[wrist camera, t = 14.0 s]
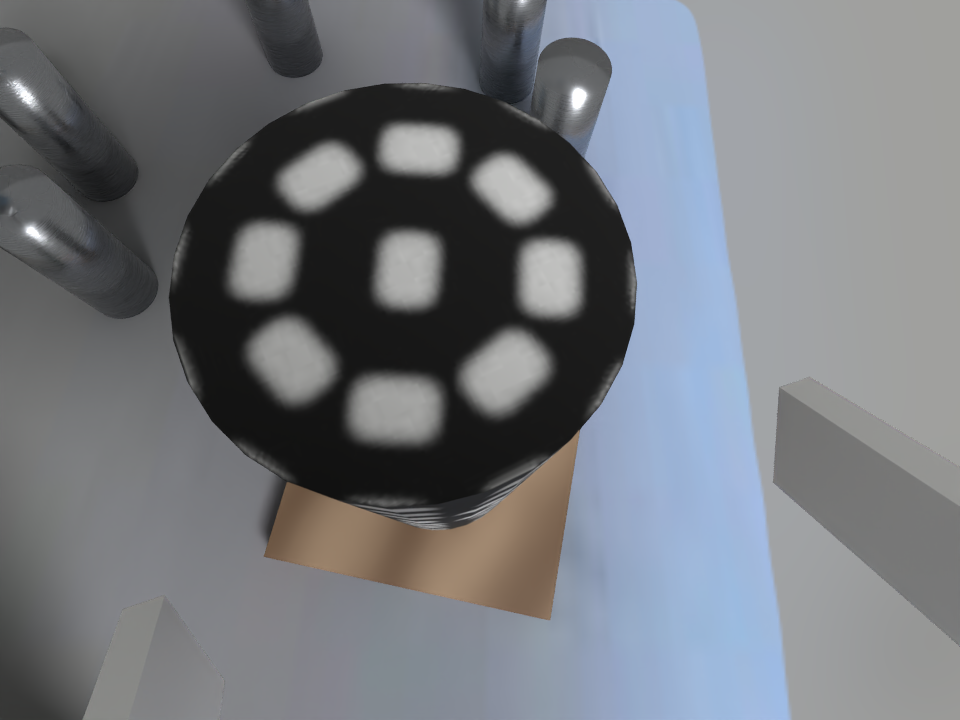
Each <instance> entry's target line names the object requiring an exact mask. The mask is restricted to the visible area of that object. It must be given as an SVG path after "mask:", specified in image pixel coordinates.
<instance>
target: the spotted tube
mask: <svg viewBox="0 0 960 720" xmlns="http://www.w3.org/2000/svg"><path fill="white" fill-rule="evenodd" d="M636 289H637V280H636V273H635V266H634V259H633V253H632V246H631V241H630V239H629V236H628V233H627V230H626V228H625V225H624V222H623V220H622V217H621V214H620V212H619V209H618V206H617V204H616V203H615V201H614V199H613V198H612V196H611V195H610V193H609V191H608V190H607V188H606V186H605V185H604V183H603V182H602V180H601V178H600V177H599V175H598V173H597V172H596V171H595V170H594V169H593V168H592V166H591V165H590V164H589V163H588V162H587V161H586V160H585V159H584V158H583V157H582V156H581V154H580V153H579V152H578V151H577V150H576V149H575V148H574V147H573V146H572V145H571V144H570V143H569V142H568V141H567V140H565V139H564V138H563V137H561V136H560V135H559V134H557V133H556V132H555V131H553V130H552V129H551V128H549V127H548V126H547V125H545V124H544V123H543V122H541V121H540V120H539V119H537V118H535V117H533V116H531V115H529V114H527V113H525V112H523V111H521V110H519V109H517V108H515V107H513V106H512V105H510V104H508V103H506V102H504V101H501V100H498V99H495V98H491V97H488V96H485V95H482V94H479V93H476V92H473V91H469V90H466V89H461V88H454V87H447V86H441V85H434V84H427V83H402V84H380V85H374V86H368V87H362V88H357V89H351V90H345V91H342V92H339V93H336V94H333V95H330V96H327V97H324V98H321V99H318V100H315V101H312V102H310V103H307V104H304V105H302V106H301V107H299V108H297V109H295V110H293V111H291V112H289V113H288V114H286V115H284V116H282V117H280V118H278V119H276V120H275V121H273V122H271V123H269V124H268V125H266V126H265V127H264V128H263V129H261V130H260V131H259V132H258V133H256V134H255V135H254V136H252V137H251V138H250V139H249V140H247V141H246V142H245V143H243V144H242V145H241V146H240V147H238V148H237V149H236V150H235V151H234V152H233V154H232V155H231V156H230V157H229V158H228V159H227V160H226V161H225V163H224V164H223V165H222V166H221V167H220V168H219V169H218V170H217V172H216V173H215V174H214V175H213V176H212V177H211V178H210V179H209V181H208V183H207V184H206V186H205V188H204V189H203V191H202V193H201V194H200V196H199V198H198V199H197V201H196V203H195V204H194V206H193V208H192V209H191V211H190V213H189V215H188V217H187V220H186V222H185V225H184V228H183V231H182V234H181V237H180V240H179V243H178V245H177V248H176V251H175V254H174V260H173V269H172V277H171V285H170V293H169V302H170V312H171V321H172V331H173V341H174V343H175V346H176V349H177V352H178V355H179V358H180V361H181V364H182V367H183V370H184V373H185V376H186V379H187V382H188V383H189V385H190V387H191V388H192V390H193V392H194V393H195V395H196V396H197V398H198V400H199V401H200V403H201V404H202V406H203V408H204V409H205V411H206V412H207V414H208V416H209V417H210V419H211V420H212V422H213V423H214V424H215V425H216V426H217V427H218V428H219V429H220V430H221V431H222V432H223V433H224V434H225V435H226V436H227V437H228V438H229V439H230V440H231V441H232V442H233V443H234V444H235V445H236V446H237V447H238V448H239V449H240V450H241V451H242V452H243V453H244V454H245V455H246V456H248V457H249V458H251V459H253V460H254V461H256V462H257V463H259V464H260V465H262V466H263V467H265V468H267V469H268V470H270V471H271V472H273V473H274V474H276V475H278V476H279V477H281V478H282V479H284V480H285V481H287V482H289V483H292V484H295V485H297V486H300V487H303V488H306V489H308V490H311V491H314V492H316V493H319V494H322V495H324V496H327V497H330V498H332V499H335V500H338V501H341V502H344V503H347V504H350V505H352V506H355V507H358V508H361V509H364V510H367V511H370V512H373V513H376V514H379V515H382V516H385V517H387V518H390V519H393V520H396V521H399V522H402V523H405V524H408V525H411V526H414V527H417V528H422V529H429V530H447V529H453V528H457V527H461V526H465V525H468V524H470V523H472V522H474V521H476V520H478V519H480V518H482V517H483V516H484V515H485V514H487V513H488V512H489V511H491V510H492V509H493V508H494V507H496V506H497V505H498V504H499V503H500V502H501V501H502V500H504V499H505V498H506V497H507V496H508V495H509V494H510V493H511V492H513V491H514V490H515V489H516V488H517V487H518V486H519V485H520V484H522V483H523V482H524V481H525V480H526V479H527V478H528V477H530V476H531V475H532V474H533V473H534V472H535V471H536V470H537V469H539V468H540V467H541V466H542V465H543V464H544V463H545V462H546V461H548V460H549V459H550V458H551V457H552V456H553V455H554V454H555V453H557V452H558V451H559V450H560V449H561V448H562V447H563V446H565V445H566V444H567V443H568V442H569V441H570V440H571V439H572V438H573V437H574V436H575V434H576V433H577V432H578V431H579V430H580V429H581V427H582V426H583V425H584V424H585V423H586V422H587V420H588V419H589V418H590V417H591V416H592V415H593V413H594V412H595V411H596V410H597V409H598V408H599V406H600V405H601V404H602V402H603V400H604V398H605V396H606V394H607V393H608V391H609V389H610V387H611V385H612V383H613V381H614V380H615V378H616V376H617V374H618V372H619V370H620V369H621V367H622V364H623V361H624V358H625V354H626V351H627V347H628V344H629V340H630V337H631V333H632V330H633V326H634V319H635V304H636Z"/></svg>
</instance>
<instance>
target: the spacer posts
mask: <svg viewBox="0 0 960 720" xmlns="http://www.w3.org/2000/svg"><path fill="white" fill-rule="evenodd" d="M546 2H547V0H484V2H483V23H482V43H481V64H480V86H481V89H482V91H483V92H484V93H485V95H486V96H488V97H491V98H495V99H498V100H501V101H504V102H506V103H508V104H509V103H516V102H519V101H521V100H523V99H524V98H526V97H527V96H528V95H529V93H530V92H531V90H532V87H533V81H534V75H535V69H536V63H537V57H538V51H539V45H540V39H541V33H542V27H543V20H544V14H545V8H546ZM245 3H246V5H247V8H248V10H249V13H250V15H251V18H252V20H253V23H254V25H255V28H256V31H257V33H258V36H259V38H260V41H261V43H262V46H263V48H264V51H265V54H266V56H267V59H268V61H269V64H270V66H271V67H272V69H273V70H274V71H275V72H277V73H278V74H280V75H283V76H286V77H302V76H305V75H308V74H310V73H312V72H313V71H314V70H316V69H317V67H318V66H319V65H320V63H321V61H322V49H321V46H320V42H319V38H318V35H317V31H316V27H315V24H314V20H313V17H312V13H311V9H310V6H309V2H308V0H245ZM611 74H612V66H611V62H610V59H609V57H608V56H607V54H606V53H605V52H604V51H603V50H602V49H601V48H600V47H599V46H597V45H596V44H594V43H592V42H590V41H588V40H585V39H580V38H563V39H559V40H556V41H554V42H552V43H550V44H549V45H548V46H546V48H545V49H544V50H543V51H542V52H541V54H540V57H539V60H538V66H537V72H536V78H535V84H534V90H533V96H532V102H531V108H530V114H529V115H531V116H533V117H535V118H537V119H539V120H540V121H541V122H543V123H544V124H545V125H547V126H548V127H549V128H551V129H552V130H553V131H555V132H556V133H557V134H559V135H560V136H561V137H563V138H564V139H565V140H567V141H568V142H569V143H570V144H571V145H572V146H573V147H574V148H575V149H576V150H577V151H578V152H579V153H580V154H581V156H582V157H583V158H584V157H585V154H586V151H587V148H588V145H589V141H590V138H591V135H592V132H593V129H594V126H595V123H596V120H597V117H598V114H599V111H600V108H601V105H602V102H603V99H604V96H605V93H606V90H607V87H608V84H609V81H610V78H611ZM0 117H1V118H2V119H3V120H4V121H5V122H6V123H7V124H8V125H9V126H10V127H11V128H12V129H13V130H14V131H16V132H17V133H18V134H19V135H20V136H21V137H22V138H23V139H24V140H25V141H26V142H27V143H28V144H30V145H31V146H32V147H33V148H34V149H35V150H36V151H37V152H38V153H39V154H40V155H41V156H42V157H43V158H45V159H46V160H47V161H48V162H49V163H50V164H51V165H52V166H53V167H54V168H55V169H56V170H57V171H59V172H60V173H61V174H62V175H63V176H64V177H65V178H66V179H67V180H68V181H69V182H70V183H71V184H72V185H74V186H75V187H76V188H77V189H78V190H79V191H80V192H81V193H82V194H83V195H84V196H86V197H87V198H89V199H92V200H95V201H110V200H114V199H117V198H119V197H121V196H123V195H124V194H126V193H127V192H128V191H129V190H130V189H131V188H132V187H133V186H134V184H135V182H136V180H137V176H138V168H137V165H136V163H135V161H134V160H133V159H132V158H131V156H130V155H129V154H128V153H127V152H126V150H125V149H124V148H123V147H122V146H121V145H120V143H119V142H118V141H117V140H116V139H115V137H114V136H113V135H112V134H111V133H110V132H109V130H108V129H107V128H106V127H105V126H104V124H103V123H102V122H101V121H100V120H99V119H98V117H97V116H96V115H95V114H94V113H93V111H92V110H91V109H90V108H89V107H88V106H87V104H86V103H85V102H84V101H83V100H82V98H81V97H80V96H79V95H78V94H77V93H76V91H75V90H74V89H73V88H72V87H71V85H70V84H69V83H68V82H67V81H66V80H65V78H64V77H63V76H62V75H61V74H60V72H59V71H58V70H57V69H56V68H55V67H54V65H53V64H52V63H51V62H50V61H49V59H48V58H47V57H46V56H45V55H44V54H43V52H42V51H41V50H40V49H39V48H38V46H37V45H36V44H35V43H34V42H33V41H32V39H31V38H30V37H29V36H28V35H26V34H25V33H23V32H22V31H19V30H16V29H12V28H0ZM0 247H1V248H2V249H4V250H5V251H7V252H8V253H10V254H12V255H13V256H15V257H16V258H18V259H19V260H21V261H22V262H24V263H25V264H27V265H29V266H30V267H32V268H33V269H35V270H36V271H38V272H39V273H41V274H42V275H44V276H46V277H47V278H49V279H50V280H52V281H53V282H55V283H56V284H58V285H59V286H61V287H63V288H64V289H66V290H67V291H69V292H70V293H72V294H73V295H75V296H77V297H78V298H80V299H81V300H83V301H84V302H86V303H87V304H89V305H90V306H92V307H94V308H95V309H97V310H98V311H100V312H101V313H103V314H104V315H106V316H108V317H112V318H117V319H123V318H129V317H133V316H135V315H138V314H139V313H141V312H143V311H144V310H145V309H146V308H148V307H149V306H150V304H151V303H152V302H153V300H154V298H155V296H156V294H157V290H158V281H157V277H156V275H155V273H154V272H153V271H152V269H151V268H149V267H148V266H147V265H146V264H145V263H144V262H143V261H142V260H140V259H139V258H138V257H137V256H136V255H135V254H134V253H133V252H132V251H130V250H129V249H128V248H127V247H126V246H125V245H124V244H123V243H121V242H120V241H119V240H118V239H117V238H116V237H115V236H114V235H112V234H111V233H110V232H109V231H108V230H107V229H106V228H105V227H104V226H102V225H101V224H100V223H99V222H98V221H97V220H96V219H95V218H93V217H92V216H91V215H90V214H89V213H88V212H87V211H86V210H85V209H83V208H82V207H81V206H80V205H79V204H78V203H77V202H76V201H74V200H73V199H72V198H71V197H70V196H69V195H68V194H67V193H65V192H64V191H63V190H62V189H61V188H60V187H59V186H58V185H57V184H55V183H54V182H53V181H52V180H51V179H50V178H49V177H48V176H46V175H45V174H44V173H43V172H42V171H40V170H38V169H36V168H34V167H31V166H27V165H9V166H4V167H1V168H0Z"/></svg>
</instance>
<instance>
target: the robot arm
mask: <svg viewBox="0 0 960 720" xmlns="http://www.w3.org/2000/svg"><path fill="white" fill-rule="evenodd" d="M773 483H774V484H775V485H777V486H778V487H779V488H780V489H781V490H782V491H783V492H785V493H786V494H787V495H788V496H789V497H790V498H791V499H792V500H794V501H795V502H796V503H797V504H798V505H799V506H800V507H802V508H803V509H804V510H805V511H806V512H807V513H808V514H809V515H811V516H812V517H813V518H814V519H815V520H816V521H818V522H819V523H820V524H821V525H822V526H823V527H824V528H826V529H827V530H828V531H829V532H830V533H831V534H832V535H833V536H835V537H836V538H837V539H838V540H839V541H840V542H842V543H843V544H844V545H845V546H846V547H847V548H848V549H849V550H851V551H852V552H853V553H854V554H855V555H856V556H857V557H859V558H860V559H861V560H862V561H863V562H864V563H865V564H867V565H868V566H869V567H870V568H871V569H872V570H873V571H874V572H876V573H877V574H878V575H879V576H880V577H881V578H882V579H884V580H885V581H886V582H887V583H888V584H889V585H890V586H892V587H893V588H894V589H895V590H896V591H897V592H898V593H900V594H901V595H902V596H903V597H904V598H905V599H906V600H907V601H909V602H910V603H911V604H912V605H913V606H914V607H915V608H917V609H918V610H919V611H920V612H921V613H922V614H923V615H925V616H926V617H927V618H928V619H929V620H930V621H931V622H933V623H934V624H935V625H936V626H937V627H938V628H939V629H941V630H942V631H943V632H944V633H945V634H946V635H948V636H949V637H950V638H951V639H952V640H953V641H954V642H955V643H956V644H958V645H959V646H960V467H959V466H958V465H956V464H955V463H953V462H951V461H950V460H948V459H946V458H944V457H943V456H941V455H940V454H938V453H936V452H935V451H933V450H931V449H930V448H928V447H926V446H924V445H923V444H921V443H920V442H918V441H916V440H914V439H913V438H911V437H909V436H908V435H906V434H904V433H903V432H901V431H899V430H898V429H896V428H894V427H893V426H891V425H889V424H888V423H886V422H884V421H883V420H881V419H879V418H878V417H876V416H874V415H873V414H871V413H869V412H868V411H866V410H864V409H863V408H861V407H859V406H858V405H856V404H854V403H853V402H851V401H849V400H848V399H846V398H844V397H843V396H841V395H839V394H838V393H836V392H834V391H833V390H831V389H829V388H828V387H826V386H824V385H823V384H821V383H819V382H818V381H816V380H814V379H813V378H811V377H808V378H805V379H802V380H799V381H796V382H793V383H790V384H787V385H784V386H781V387H779V398H778V413H777V429H776V445H775V461H774V476H773ZM224 685H225V681H224V679H223V678H222V676H221V675H220V673H219V672H218V671H217V669H216V668H215V666H214V665H213V663H212V662H211V660H210V659H209V658H208V656H207V655H206V653H205V652H204V650H203V649H202V648H201V646H200V645H199V643H198V642H197V640H196V639H195V638H194V636H193V635H192V633H191V632H190V630H189V629H188V627H187V626H186V625H185V623H184V622H183V620H182V619H181V617H180V616H179V615H178V613H177V612H176V610H175V609H174V607H173V606H172V604H171V603H170V602H169V600H168V599H167V597H166V596H165V595H163V596H160V597H157V598H154V599H151V600H148V601H145V602H143V603H140V604H137V605H134V606H131V607H128V608H125V609H123V610H122V613H121V616H120V618H119V621H118V624H117V627H116V629H115V632H114V635H113V638H112V640H111V643H110V646H109V649H108V651H107V654H106V657H105V660H104V662H103V665H102V668H101V671H100V673H99V676H98V679H97V682H96V684H95V687H94V690H93V693H92V695H91V698H90V701H89V704H88V706H87V709H86V712H85V715H84V717H83V720H219V718H220V712H221V705H222V698H223V692H224Z"/></svg>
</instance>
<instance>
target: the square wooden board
mask: <svg viewBox="0 0 960 720" xmlns="http://www.w3.org/2000/svg"><path fill="white" fill-rule="evenodd" d="M579 432H580V430H579V431H578V432H577V433H576V434H575V436H574V437H573V438H572V439H571V440H570V441H569V442H568V443H567V444H566V445H565V446H563V447H562V448H561V449H560V450H559V451H558V452H557V453H555V454H554V455H553V456H552V457H551V458H550V459H549V460H548V461H546V462H545V463H544V464H543V465H542V466H541V467H540V468H539V469H537V470H536V471H535V472H534V473H533V474H532V475H531V476H530V477H528V478H527V479H526V480H525V481H524V482H523V483H522V484H520V485H519V486H518V487H517V488H516V489H515V490H514V491H513V492H511V493H510V494H509V495H508V496H507V497H506V498H505V499H504V500H502V501H501V502H500V503H499V504H498V505H497V506H496V507H494V508H493V509H492V510H491V511H489V512H488V513H487V514H485V515H484V516H483V517H482V518H480V519H478V520H476V521H474V522H472V523H470V524H468V525H465V526H461V527H457V528H453V529H447V530H429V529H422V528H417V527H414V526H411V525H408V524H405V523H402V522H399V521H396V520H393V519H390V518H387V517H385V516H382V515H379V514H376V513H373V512H370V511H367V510H364V509H361V508H358V507H355V506H352V505H350V504H347V503H344V502H341V501H338V500H335V499H332V498H330V497H327V496H324V495H322V494H319V493H316V492H314V491H311V490H308V489H306V488H303V487H300V486H297V485H295V484H292V483H289V482H287V483H286V487H285V490H284V493H283V496H282V500H281V503H280V506H279V509H278V512H277V516H276V519H275V522H274V525H273V529H272V532H271V535H270V538H269V542H268V545H267V548H266V551H265V554H264V557H268V558H272V559H277V560H281V561H286V562H290V563H295V564H299V565H304V566H308V567H313V568H317V569H322V570H326V571H330V572H335V573H339V574H344V575H348V576H353V577H357V578H362V579H366V580H371V581H375V582H380V583H384V584H389V585H393V586H398V587H402V588H407V589H411V590H416V591H420V592H425V593H429V594H434V595H438V596H443V597H447V598H451V599H456V600H460V601H465V602H469V603H474V604H478V605H483V606H487V607H492V608H496V609H501V610H505V611H510V612H514V613H519V614H523V615H528V616H532V617H537V618H541V619H546V620H550V618H551V611H552V605H553V598H554V592H555V586H556V579H557V573H558V566H559V560H560V554H561V547H562V541H563V535H564V528H565V522H566V515H567V509H568V503H569V496H570V490H571V483H572V477H573V471H574V464H575V458H576V451H577V445H578V439H579Z"/></svg>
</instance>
